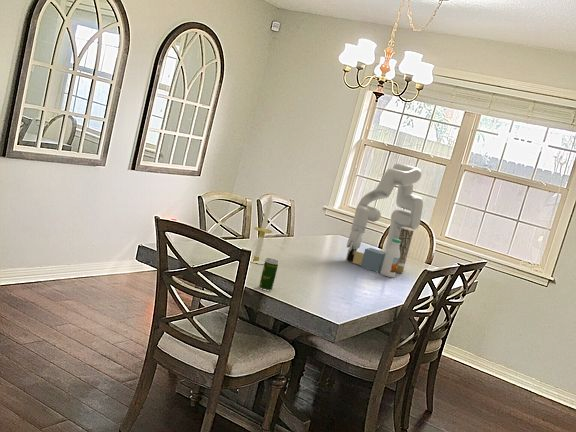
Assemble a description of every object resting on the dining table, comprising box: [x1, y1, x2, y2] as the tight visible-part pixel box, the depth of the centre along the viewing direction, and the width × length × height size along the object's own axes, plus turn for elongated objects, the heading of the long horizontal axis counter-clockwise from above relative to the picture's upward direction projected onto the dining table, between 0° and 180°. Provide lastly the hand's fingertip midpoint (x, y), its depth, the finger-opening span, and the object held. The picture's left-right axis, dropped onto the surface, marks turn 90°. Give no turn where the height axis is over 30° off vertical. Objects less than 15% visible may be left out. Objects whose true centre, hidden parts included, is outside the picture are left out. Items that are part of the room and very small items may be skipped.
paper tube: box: [396, 227, 415, 274], centre depth 373 cm, size 7×7×25 cm
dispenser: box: [360, 247, 386, 273], centre depth 365 cm, size 10×10×10 cm
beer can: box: [258, 257, 279, 291], centre depth 266 cm, size 5×5×12 cm
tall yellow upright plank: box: [345, 248, 364, 266], centre depth 369 cm, size 1×12×6 cm, turn 65°
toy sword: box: [253, 193, 273, 262], centre depth 311 cm, size 10×10×32 cm
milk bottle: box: [380, 238, 401, 278], centre depth 356 cm, size 8×8×20 cm
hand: (350, 260), depth 371 cm, fingers closed
